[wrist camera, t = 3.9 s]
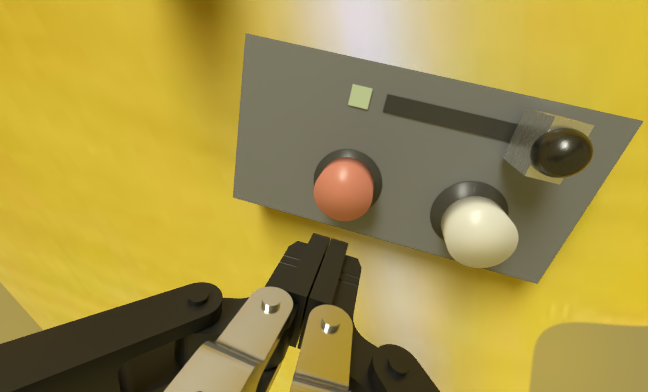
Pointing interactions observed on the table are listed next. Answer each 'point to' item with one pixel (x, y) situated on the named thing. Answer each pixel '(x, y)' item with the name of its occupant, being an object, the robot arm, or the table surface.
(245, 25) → the table surface
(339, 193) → the red button
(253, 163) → the panel
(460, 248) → the white button
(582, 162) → the lever
